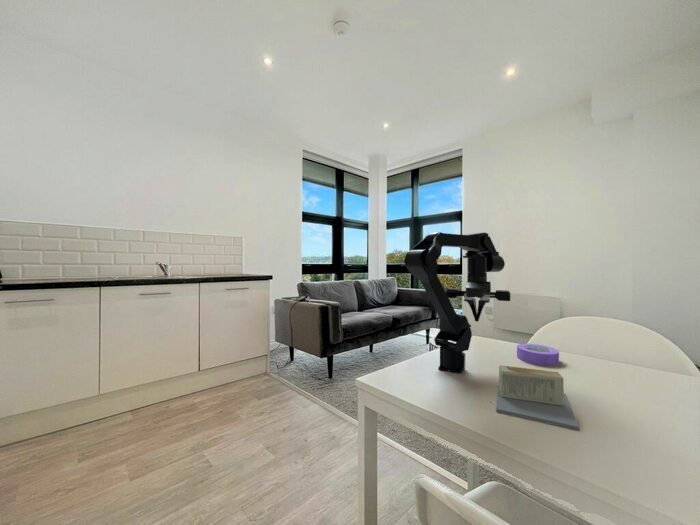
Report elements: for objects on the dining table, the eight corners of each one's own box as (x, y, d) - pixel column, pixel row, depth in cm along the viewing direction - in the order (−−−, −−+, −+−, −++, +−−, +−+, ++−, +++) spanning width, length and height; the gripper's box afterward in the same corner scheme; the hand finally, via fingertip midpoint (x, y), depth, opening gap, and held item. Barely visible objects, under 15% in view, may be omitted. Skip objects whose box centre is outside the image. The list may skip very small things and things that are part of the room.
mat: (496, 411, 62) (496, 408, 62) (499, 384, 76) (499, 382, 76) (579, 430, 55) (578, 426, 55) (565, 396, 69) (565, 394, 69)
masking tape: (568, 364, 92) (568, 352, 92) (538, 367, 89) (538, 355, 89) (535, 353, 104) (535, 342, 104) (508, 355, 101) (508, 344, 101)
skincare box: (498, 389, 71) (557, 399, 67) (500, 397, 67) (563, 408, 63) (499, 363, 71) (558, 371, 67) (501, 369, 67) (564, 378, 63)
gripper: (441, 272, 91) (441, 322, 91) (510, 273, 82) (510, 329, 82) (448, 271, 101) (448, 317, 101) (510, 272, 92) (510, 322, 92)
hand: (476, 321), depth 93 cm, fingers closed
